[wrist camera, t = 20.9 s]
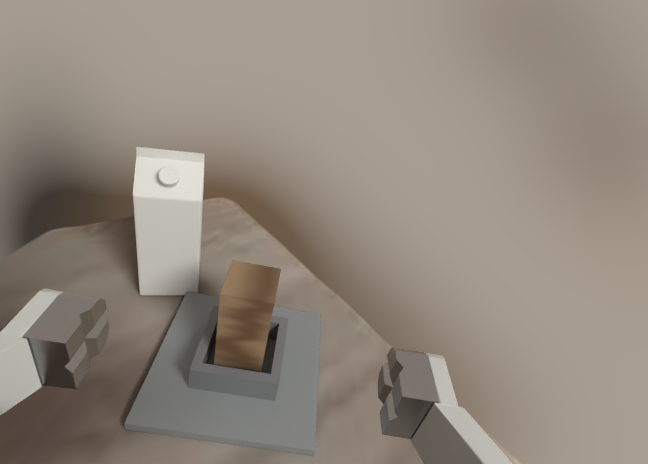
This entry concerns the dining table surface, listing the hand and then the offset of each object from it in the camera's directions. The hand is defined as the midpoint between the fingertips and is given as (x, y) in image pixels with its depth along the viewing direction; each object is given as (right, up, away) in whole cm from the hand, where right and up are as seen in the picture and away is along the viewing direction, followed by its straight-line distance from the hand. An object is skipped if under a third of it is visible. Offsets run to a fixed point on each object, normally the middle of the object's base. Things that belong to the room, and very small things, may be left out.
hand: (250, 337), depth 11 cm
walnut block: (-7, -11, +33) cm, 36 cm away
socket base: (-8, -12, +34) cm, 37 cm away
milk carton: (-19, -3, +43) cm, 47 cm away
